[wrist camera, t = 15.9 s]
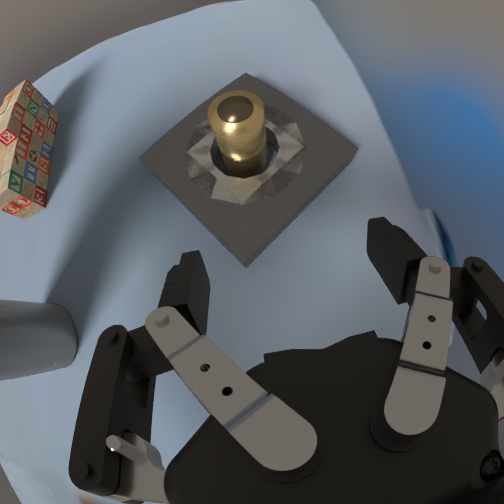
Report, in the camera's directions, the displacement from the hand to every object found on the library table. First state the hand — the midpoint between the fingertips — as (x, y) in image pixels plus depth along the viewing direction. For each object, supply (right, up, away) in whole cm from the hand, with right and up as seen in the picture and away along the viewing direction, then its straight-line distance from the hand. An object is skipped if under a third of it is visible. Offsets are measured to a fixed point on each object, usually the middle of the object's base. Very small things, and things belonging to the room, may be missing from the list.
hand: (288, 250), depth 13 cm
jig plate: (-2, +11, +19) cm, 22 cm away
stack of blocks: (-39, +16, +24) cm, 49 cm away
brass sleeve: (-2, +11, +19) cm, 22 cm away
